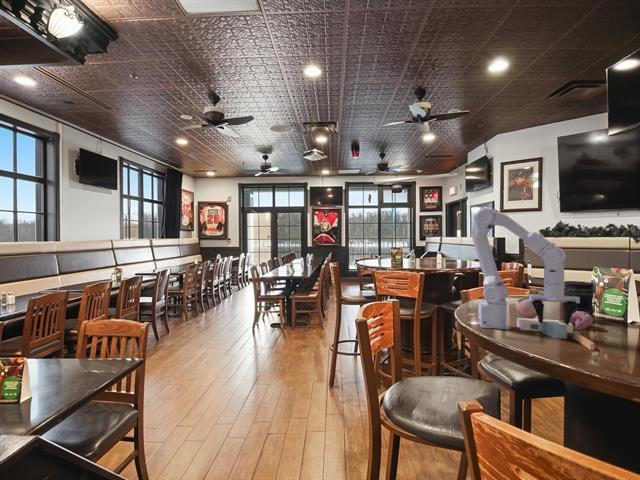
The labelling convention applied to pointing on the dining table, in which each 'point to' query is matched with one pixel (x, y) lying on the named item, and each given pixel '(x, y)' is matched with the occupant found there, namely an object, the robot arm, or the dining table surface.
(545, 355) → the dining table surface
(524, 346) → the dining table surface
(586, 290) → the storage jar
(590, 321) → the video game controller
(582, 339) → the wooden block bar
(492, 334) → the dining table surface
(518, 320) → the power strip
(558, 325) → the plug
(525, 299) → the decorative fruit
